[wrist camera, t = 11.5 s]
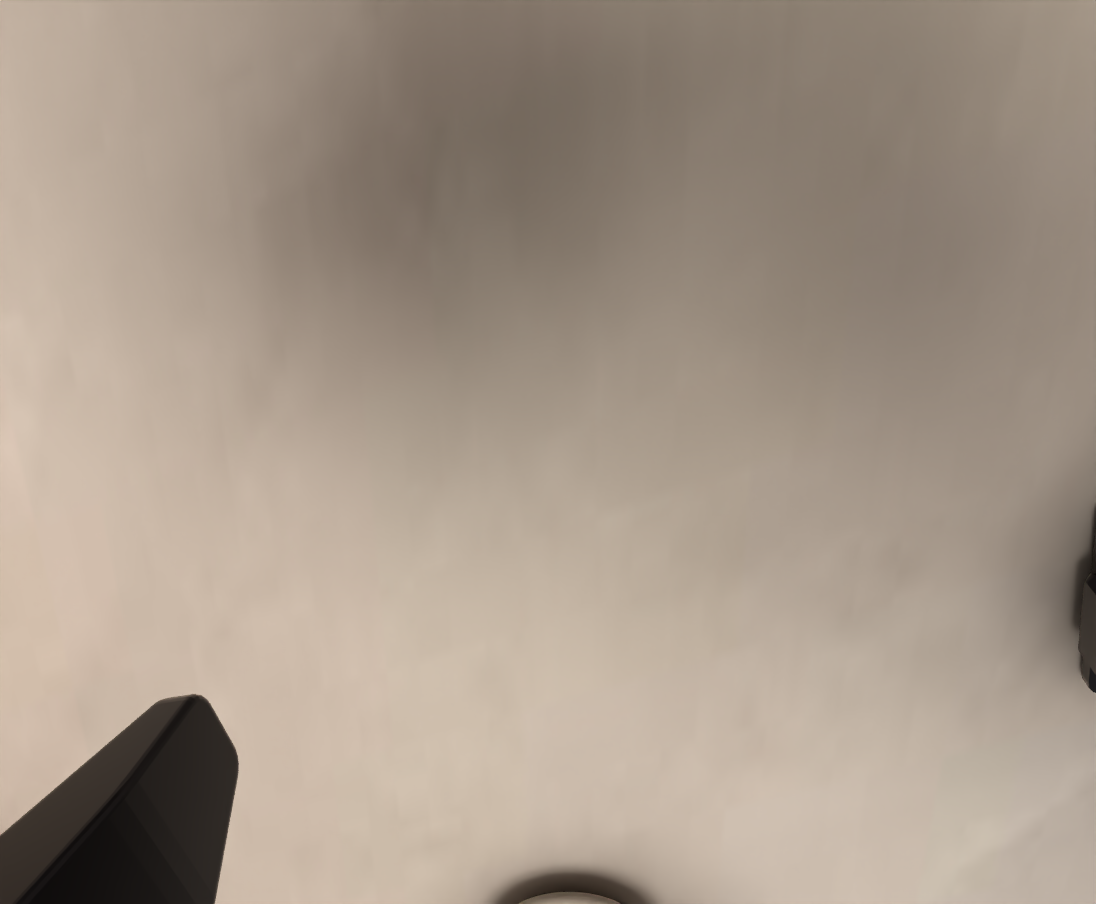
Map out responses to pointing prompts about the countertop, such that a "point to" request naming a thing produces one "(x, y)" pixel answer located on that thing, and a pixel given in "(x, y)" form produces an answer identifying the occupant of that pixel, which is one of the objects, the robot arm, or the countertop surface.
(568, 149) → the countertop surface
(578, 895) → the plastic bottle
